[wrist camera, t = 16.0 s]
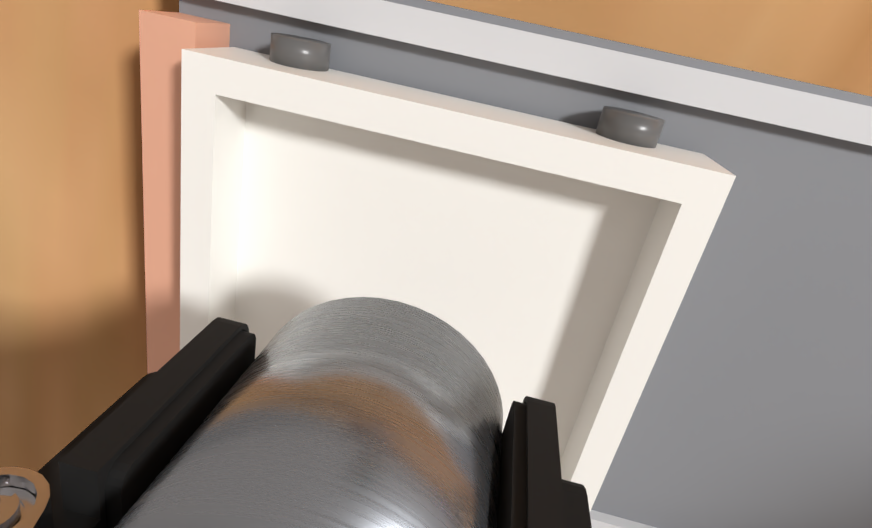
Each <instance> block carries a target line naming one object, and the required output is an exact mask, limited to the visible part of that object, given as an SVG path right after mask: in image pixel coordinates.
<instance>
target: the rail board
mask: <svg viewBox="0 0 872 528" xmlns="http://www.w3.org/2000/svg"><path fill="white" fill-rule="evenodd" d="M271 33H283V34H290V35H296V36H301V37H306V38H311V39H315V40H319V41H323V42H327V43H329V44H331V51H330V60H329V69H333V70H337V71H342V72H346V73H350V74H355V75H359V76H364V77H368V78H372V79H377V80H381V81H386V82H390V83H394V84H399V85H403V86H408V87H412V88H416V89H421V90H425V91H430V92H434V93H438V94H443V95H447V96H451V97H456V98H460V99H465V100H469V101H473V102H478V103H482V104H487V105H491V106H495V107H500V108H504V109H509V110H513V111H517V112H522V113H526V114H531V115H535V116H539V117H544V118H548V119H553V120H557V121H561V122H566V123H570V124H574V125H579V126H583V127H588V128H592V129H597V126H598V122H599V119H600V116H601V113H602V110H603V107H604V106H611V107H617V108H623V109H627V110H632V111H636V112H640V113H644V114H647V115H651V116H654V117H657V118H660V119H663V120H665V123H664V126H663V129H662V131H661V134H660V137H659V140H658V142H657V143H658V144H662V145H667V146H671V147H675V148H680V149H684V150H689V151H693V152H697V153H702V154H704V155H706V156H707V157H709V158H710V159H712V160H713V161H715V162H716V163H718V164H719V165H721V166H722V167H724V168H725V169H727V170H728V171H729V172H731V173H732V174H734V175H735V176H736V178H735V180H734V182H733V185H732V187H731V189H730V192H729V194H728V196H727V198H726V201H725V203H724V205H723V208H722V210H721V212H720V215H719V217H718V219H717V221H716V224H715V226H714V228H713V231H712V233H711V235H710V238H709V240H708V242H707V244H706V247H705V249H704V251H703V254H702V256H701V258H700V260H699V263H698V265H697V267H696V270H695V272H694V274H693V277H692V279H691V281H690V283H689V286H688V288H687V290H686V293H685V295H684V297H683V300H682V302H681V304H680V306H679V309H678V311H677V313H676V316H675V318H674V320H673V322H672V325H671V327H670V329H669V332H668V334H667V336H666V339H665V341H664V343H663V345H662V348H661V350H660V352H659V355H658V357H657V359H656V362H655V364H654V366H653V368H652V371H651V373H650V375H649V378H648V380H647V382H646V384H645V387H644V389H643V391H642V394H641V396H640V398H639V401H638V403H637V405H636V407H635V410H634V412H633V414H632V417H631V419H630V421H629V424H628V426H627V428H626V430H625V433H624V435H623V437H622V440H621V442H620V444H619V446H618V449H617V451H616V453H615V456H614V458H613V460H612V463H611V465H610V467H609V469H608V472H607V474H606V476H605V479H604V481H603V483H602V485H601V488H600V490H599V492H598V495H597V497H596V499H595V502H594V504H593V506H592V508H591V511H590V518H591V526H592V528H872V97H870V96H865V95H861V94H856V93H851V92H847V91H842V90H837V89H833V88H828V87H824V86H819V85H814V84H810V83H805V82H801V81H796V80H791V79H787V78H782V77H777V76H773V75H768V74H764V73H759V72H754V71H750V70H745V69H740V68H736V67H731V66H727V65H722V64H717V63H713V62H708V61H703V60H699V59H694V58H690V57H685V56H680V55H676V54H671V53H666V52H662V51H657V50H653V49H648V48H643V47H639V46H634V45H630V44H625V43H620V42H616V41H611V40H606V39H602V38H597V37H593V36H588V35H583V34H579V33H574V32H569V31H565V30H560V29H556V28H551V27H546V26H542V25H537V24H532V23H528V22H523V21H519V20H514V19H509V18H505V17H500V16H495V15H491V14H486V13H482V12H477V11H472V10H468V9H463V8H459V7H454V6H449V5H445V4H440V3H435V2H431V1H426V0H179V12H165V11H151V10H139V36H140V78H141V120H142V163H143V205H144V247H145V290H146V332H147V374H149V373H151V372H157V371H158V370H159V369H160V368H161V367H162V366H164V365H165V364H166V363H167V362H168V361H169V360H170V359H171V358H172V357H173V356H175V355H176V354H177V353H178V352H179V351H180V235H181V62H182V49H190V48H218V47H236V48H241V49H245V50H249V51H254V52H258V53H263V54H267V55H270V42H271Z"/></svg>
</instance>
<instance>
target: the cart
mask: <svg viewBox="0 0 872 528" xmlns="http://www.w3.org/2000/svg"><path fill="white" fill-rule="evenodd" d="M330 51H331V44H329V43H327V42H323V41H319V40H315V39H311V38H306V37H301V36H296V35H290V34H283V33H271V42H270V55H267V54H263V53H258V52H254V51H249V50H245V49H241V48H236V47H218V48H190V49H182V62H181V235H180V350H181V349H182V348H183V347H184V346H185V345H187V344H188V343H189V342H190V341H191V340H192V339H193V338H194V337H195V336H196V335H198V334H199V333H200V332H201V331H202V330H203V329H204V328H205V327H206V326H207V325H209V324H210V323H211V322H212V321H213V320H214V319H216V318H217V317H221V318H225V319H229V320H233V321H237V322H241V323H245V324H247V325H248V328H249V332H250V333H253V334H255V336H256V349H255V359H256V358H257V356H258V355H259V354H260V353H261V352H262V350H263V349H264V348H265V347H266V346H267V344H268V343H269V342H270V341H271V340H272V338H273V337H274V336H275V335H276V334H277V332H278V331H279V330H280V329H281V328H282V327H283V326H284V325H285V324H286V323H287V322H289V321H290V320H291V319H293V318H294V317H295V316H297V315H298V314H300V313H301V312H303V311H305V310H307V309H309V308H311V307H313V306H316V305H319V304H322V303H325V302H328V301H331V300H337V299H342V298H351V297H373V298H383V299H388V300H394V301H399V302H402V303H405V304H408V305H412V306H415V307H417V308H419V309H422V310H424V311H426V312H428V313H431V314H433V315H434V316H436V317H438V318H439V319H441V320H443V321H445V322H446V323H448V324H449V325H450V326H452V327H453V328H454V329H456V330H457V331H458V332H460V333H461V334H462V335H463V336H464V337H465V338H466V339H467V340H468V341H469V342H470V343H471V344H472V345H473V346H474V347H475V348H476V350H477V351H478V352H479V353H480V355H481V356H482V357H483V358H484V360H485V362H486V363H487V365H488V366H489V368H490V370H491V371H492V374H493V376H494V378H495V381H496V383H497V385H498V388H499V392H500V396H501V400H502V408H503V426H502V433H503V429H504V426H505V423H506V420H507V417H508V414H509V411H510V407H511V405H512V402H513V401H517V402H521V403H522V402H523V400H524V398H525V397H526V396H529V397H533V398H537V399H540V400H544V401H548V402H552V403H554V404H555V406H556V416H557V428H558V440H559V452H560V464H561V476H562V479H563V480H567V481H571V482H575V483H578V484H582V485H584V487H585V488H586V492H587V496H588V504H589V511H591V508H592V506H593V504H594V502H595V499H596V497H597V495H598V492H599V490H600V488H601V485H602V483H603V481H604V479H605V476H606V474H607V472H608V469H609V467H610V465H611V463H612V460H613V458H614V456H615V453H616V451H617V449H618V446H619V444H620V442H621V440H622V437H623V435H624V433H625V430H626V428H627V426H628V424H629V421H630V419H631V417H632V414H633V412H634V410H635V407H636V405H637V403H638V401H639V398H640V396H641V394H642V391H643V389H644V387H645V384H646V382H647V380H648V378H649V375H650V373H651V371H652V368H653V366H654V364H655V362H656V359H657V357H658V355H659V352H660V350H661V348H662V345H663V343H664V341H665V339H666V336H667V334H668V332H669V329H670V327H671V325H672V322H673V320H674V318H675V316H676V313H677V311H678V309H679V306H680V304H681V302H682V300H683V297H684V295H685V293H686V290H687V288H688V286H689V283H690V281H691V279H692V277H693V274H694V272H695V270H696V267H697V265H698V263H699V260H700V258H701V256H702V254H703V251H704V249H705V247H706V244H707V242H708V240H709V238H710V235H711V233H712V231H713V228H714V226H715V224H716V221H717V219H718V217H719V215H720V212H721V210H722V208H723V205H724V203H725V201H726V198H727V196H728V194H729V192H730V189H731V187H732V185H733V182H734V180H735V178H736V176H735V175H734V174H732V173H731V172H729V171H728V170H727V169H725V168H724V167H722V166H721V165H719V164H718V163H716V162H715V161H713V160H712V159H710V158H709V157H707V156H706V155H704V154H702V153H697V152H693V151H689V150H684V149H680V148H675V147H671V146H667V145H662V144H658V143H657V142H658V140H659V137H660V134H661V131H662V129H663V126H664V123H665V120H663V119H660V118H657V117H654V116H651V115H647V114H644V113H640V112H636V111H632V110H627V109H623V108H617V107H611V106H604V107H603V110H602V113H601V116H600V119H599V122H598V126H597V129H592V128H588V127H583V126H579V125H574V124H570V123H566V122H561V121H557V120H553V119H548V118H544V117H539V116H535V115H531V114H526V113H522V112H517V111H513V110H509V109H504V108H500V107H495V106H491V105H487V104H482V103H478V102H473V101H469V100H465V99H460V98H456V97H451V96H447V95H443V94H438V93H434V92H430V91H425V90H421V89H416V88H412V87H408V86H403V85H399V84H394V83H390V82H386V81H381V80H377V79H372V78H368V77H364V76H359V75H355V74H350V73H346V72H342V71H337V70H333V69H329V60H330Z"/></svg>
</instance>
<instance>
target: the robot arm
mask: <svg viewBox="0 0 872 528" xmlns="http://www.w3.org/2000/svg"><path fill="white" fill-rule="evenodd" d="M255 349H256V336H255V334H253V333H250V332H249V328H248V325H247V324H245V323H241V322H237V321H233V320H229V319H225V318H221V317H217V318H216V319H214V320H213V321H212V322H211V323H210V324H209V325H207V326H206V327H205V328H204V329H203V330H202V331H201V332H200V333H199V334H198V335H196V336H195V337H194V338H193V339H192V340H191V341H190V342H189V343H188V344H187V345H185V346H184V347H183V348H182V349H181V350H180V351H179V352H178V353H177V354H176V355H175V356H173V357H172V358H171V359H170V360H169V361H168V362H167V363H166V364H165V365H164V366H162V367H161V368H160V369H159V370H158V371H157V372H151V373H149V374H147V375H146V376H144V377H143V378H142V379H141V380H140V381H139V382H137V383H136V384H135V385H134V386H133V387H132V388H131V389H130V390H128V391H127V392H126V393H125V394H124V395H123V396H122V397H121V398H119V399H118V400H117V401H116V402H115V403H114V404H113V405H112V406H111V407H109V408H108V409H107V410H106V411H105V412H104V413H103V414H102V415H100V416H99V417H98V418H97V419H96V420H95V421H94V422H93V423H92V424H90V425H89V426H88V427H87V428H86V429H85V430H84V431H83V432H81V433H80V434H79V435H78V436H77V437H76V438H75V439H74V440H73V441H71V442H70V443H69V444H68V445H67V446H66V447H65V448H64V449H62V450H61V451H60V452H59V453H58V454H57V455H56V456H55V457H54V458H52V459H51V460H50V461H49V462H48V463H47V464H46V465H45V466H43V467H42V468H41V469H40V470H39V471H38V472H36V471H34V470H32V469H29V468H22V467H16V466H12V467H0V528H114V527H115V526H116V525H117V524H118V523H119V521H120V520H121V519H122V518H123V517H124V515H125V514H126V513H127V512H128V511H129V509H130V508H131V507H132V506H133V505H134V503H135V502H136V501H137V500H138V499H139V497H140V496H141V495H142V494H143V493H144V491H145V490H146V489H147V488H148V487H149V485H150V484H151V483H152V482H153V481H154V480H155V478H156V477H157V476H158V475H159V474H160V472H161V471H162V470H163V469H164V468H165V466H166V465H167V464H168V463H169V462H170V460H171V459H172V458H173V457H174V456H175V454H176V453H177V452H178V451H179V450H180V448H181V447H182V446H183V445H184V444H185V442H186V441H187V440H188V439H189V438H190V436H191V435H192V434H193V433H194V432H195V430H196V429H197V428H198V427H199V426H200V424H201V423H202V422H203V421H204V420H205V419H206V417H207V416H208V415H209V414H210V413H211V411H212V410H213V409H214V408H215V407H216V405H217V404H218V403H219V402H220V401H221V399H222V398H223V397H224V396H225V395H226V393H227V392H228V391H229V390H230V389H231V387H232V386H233V385H234V384H235V383H236V381H237V380H238V379H239V378H240V377H241V375H242V374H243V373H244V372H245V371H246V369H247V368H248V367H249V366H250V365H251V364H252V362H253V361H254V360H255ZM497 528H592V526H591V518H590V511H589V504H588V496H587V492H586V488H585V487H584V485H582V484H578V483H575V482H571V481H567V480H563V479H562V476H561V464H560V452H559V440H558V428H557V416H556V406H555V404H554V403H552V402H548V401H544V400H540V399H537V398H533V397H529V396H526V397H525V398H524V400H523V402H522V403H521V402H517V401H513V402H512V405H511V407H510V411H509V414H508V417H507V420H506V423H505V426H504V429H503V433H502V444H501V462H500V480H499V497H498V515H497Z"/></svg>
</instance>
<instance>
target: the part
mask: <svg viewBox="0 0 872 528" xmlns="http://www.w3.org/2000/svg"><path fill="white" fill-rule="evenodd" d="M502 426H503V408H502V400H501V396H500V392H499V388H498V385H497V383H496V381H495V378H494V376H493V374H492V371H491V370H490V368H489V366H488V365H487V363H486V362H485V360H484V358H483V357H482V356H481V355H480V353H479V352H478V351H477V350H476V348H475V347H474V346H473V345H472V344H471V343H470V342H469V341H468V340H467V339H466V338H465V337H464V336H463V335H462V334H461V333H460V332H458V331H457V330H456V329H454V328H453V327H452V326H450V325H449V324H448V323H446V322H445V321H443V320H441V319H439V318H438V317H436V316H434V315H433V314H431V313H428V312H426V311H424V310H422V309H419V308H417V307H415V306H412V305H408V304H405V303H402V302H399V301H394V300H388V299H383V298H373V297H351V298H342V299H337V300H331V301H328V302H325V303H322V304H319V305H316V306H313V307H311V308H309V309H307V310H305V311H303V312H301V313H300V314H298V315H297V316H295V317H294V318H293V319H291V320H290V321H289V322H287V323H286V324H285V325H284V326H283V327H282V328H281V329H280V330H279V331H278V332H277V334H276V335H275V336H274V337H273V338H272V340H271V341H270V342H269V343H268V344H267V346H266V347H265V348H264V349H263V350H262V352H261V353H260V354H259V355H258V356H257V358H256V359H255V360H254V361H253V362H252V364H251V365H250V366H249V367H248V368H247V369H246V371H245V372H244V373H243V374H242V375H241V377H240V378H239V379H238V380H237V381H236V383H235V384H234V385H233V386H232V387H231V389H230V390H229V391H228V392H227V393H226V395H225V396H224V397H223V398H222V399H221V401H220V402H219V403H218V404H217V405H216V407H215V408H214V409H213V410H212V411H211V413H210V414H209V415H208V416H207V417H206V419H205V420H204V421H203V422H202V423H201V424H200V426H199V427H198V428H197V429H196V430H195V432H194V433H193V434H192V435H191V436H190V438H189V439H188V440H187V441H186V442H185V444H184V445H183V446H182V447H181V448H180V450H179V451H178V452H177V453H176V454H175V456H174V457H173V458H172V459H171V460H170V462H169V463H168V464H167V465H166V466H165V468H164V469H163V470H162V471H161V472H160V474H159V475H158V476H157V477H156V478H155V480H154V481H153V482H152V483H151V484H150V485H149V487H148V488H147V489H146V490H145V491H144V493H143V494H142V495H141V496H140V497H139V499H138V500H137V501H136V502H135V503H134V505H133V506H132V507H131V508H130V509H129V511H128V512H127V513H126V514H125V515H124V517H123V518H122V519H121V520H120V521H119V523H118V524H117V525H116V526H115V527H114V528H497V515H498V497H499V480H500V462H501V444H502Z"/></svg>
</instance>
